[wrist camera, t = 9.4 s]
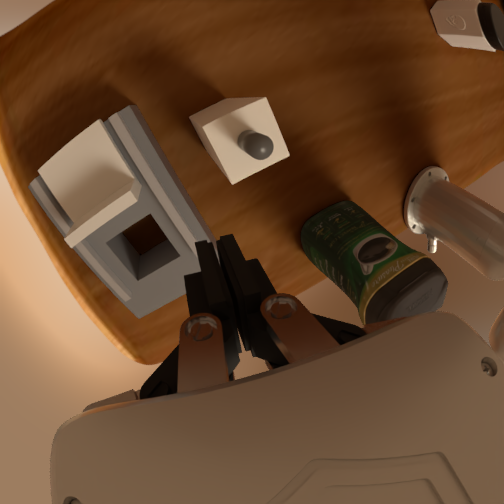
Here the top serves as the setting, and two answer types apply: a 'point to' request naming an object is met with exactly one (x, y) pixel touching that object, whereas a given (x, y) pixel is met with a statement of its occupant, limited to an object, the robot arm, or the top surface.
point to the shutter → (90, 181)
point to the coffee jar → (372, 264)
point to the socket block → (149, 201)
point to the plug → (240, 136)
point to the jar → (469, 24)
